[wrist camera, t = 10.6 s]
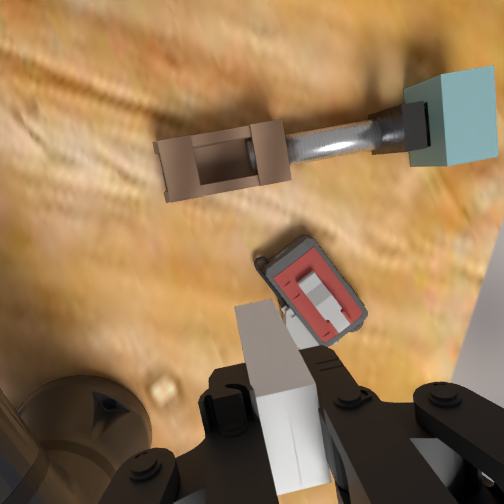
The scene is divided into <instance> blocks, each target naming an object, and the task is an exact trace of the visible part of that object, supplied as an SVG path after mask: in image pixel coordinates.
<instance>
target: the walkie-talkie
mask: <svg viewBox="0 0 504 504" xmlns="http://www.w3.org/2000/svg"><path fill="white" fill-rule="evenodd" d="M329 260H330V259H329V258H327V255H326V254H324V251H323V250H321V247H320V246H318V243H317V242H315V239H314V238H312V237H310V236H306V235H301V236H299V237H298V238H297V239H295V240H294V241H293V242H292V243H290V244H289V245H288V246H286V247H285V248H284V249H282V250H281V251H280V252H279V253H277V254H276V255H275V256H273V257H272V258H271V259H269V260H268V259H267V258H265V257H262V256H261V257H258V258H256V260H255V262H254V265H255V268H256V270H257V271H258V273H259V274H260V275H261V276H262V278H263V279H264V280H265V282H266V283H267V284H268V285H269V287H270V288H271V289H272V290H273V292H274V293H275V294H276V296H277V297H278V300H279V304H280V306H279V307H280V308H281V310H282V311H283V321H284V323H285V325H286V327H287V329H288V331H289V333H290V335H291V337H292V339H293V341H294V343H295V344H296V345H297V346H298V348H299V350H300V349H305V348H309V347H314V346H319V345H324V346H326V347H329V346H331V345H332V344H333V345H336V344H337V343H338V342H339V339H340V338H342V337H343V336H344V335H345V334H347V333H348V332H355V331H357V330H359V329H360V328H361V327H362V325H363V322H364V320H365V319H366V317H367V316H368V311H367V310H366V308H365V307H364V306H365V305H364V304H363V302H362V301H361V300H360V299H359V298H358V297H357V296H356V295H355V291H354V290H353V289H352V287H351V286H350V285H349V284H348V283H347V282H346V281H344V278H343V277H341V274H340V273H338V270H337V269H335V266H333V265H332V264H333V263H332V262H330V261H329ZM260 261H264V262H266V263H264V267H263V272H262V271H261V269H260V268H259V266H258V263H259V262H260ZM282 298H283V299H284V300H285V301H286V304H284V303H283V301H282Z"/></svg>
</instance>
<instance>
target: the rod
mask: <svg viewBox="0 0 504 504" xmlns="http://www.w3.org/2000/svg"><path fill="white" fill-rule="evenodd" d="M285 140H286V146H287V153H288V159H289V165H295V164H300V163H306V162H311V161H317V160H322V159H327V158H333V157H338V156H344V155H349V154H355V153H360V152H366V151H371V150H372V155H376V154H387V153H399V152H408V151H414V150H419V149H424V148H428V147H427V140H431V138H430V126H429V114H428V109H427V110H424V101H419V102H413V103H407V104H402V105H398V106H395V107H392V108H389V109H386V110H383V111H380V112H377V113H374V114H371V115H368V120H365V121H359V122H354V123H348V124H342V125H337V126H331V127H326V128H320V129H314V130H309V131H303V132H297V133H292V134H286V135H285ZM246 148H247V156H248V161H249V166H250V169H251V172H256V171H257V168H256V162H255V156H254V150H253V144H252V141H247V142H246Z"/></svg>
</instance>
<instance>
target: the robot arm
mask: <svg viewBox="0 0 504 504" xmlns="http://www.w3.org/2000/svg"><path fill="white" fill-rule="evenodd" d="M234 309H235V314H236V319H237V324H238V329H239V334H240V339H241V344H242V350H243V355H244V360H245V363H241V364H237V365H232V366H228V367H223V368H218V369H215V370H214V371H213V373H212V374H211V376H210V377H209V389H207V390H206V391H205V392H204V393H203V394H202V395H201V396H200V399H199V401H198V404H199V409H200V413H201V417H202V422H203V426H204V431H205V439H204V440H203V441H202V442H201V443H200V444H199V445H198V446H197V447H195V448H194V449H192V450H191V451H189V452H187V453H185V454H183V455H181V456H179V457H177V458H175V456H174V454H173V452H171V451H169V450H168V449H166V448H152V449H150V448H151V442H152V429H151V424H150V420H149V417H148V415H147V413H146V411H145V409H144V407H143V406H142V404H141V403H140V402H139V400H138V399H137V398H136V397H135V396H134V395H133V394H132V393H131V392H129V391H128V390H127V389H125V388H124V387H122V386H120V385H119V384H117V383H114V382H112V381H109V380H107V379H103V378H99V377H94V376H70V377H65V378H61V379H57V380H54V381H52V382H49V383H47V384H45V385H44V386H42V387H40V388H39V389H37V390H36V391H35V392H33V393H32V394H31V395H30V396H29V397H28V398H27V399H26V400H25V401H24V403H23V404H22V405H21V407H20V408H19V409H18V410H17V411H16V410H15V408H14V407H13V406H12V404H11V403H10V402H9V400H8V399H7V397H6V396H5V395H4V393H3V392H2V390H1V389H0V504H279V501H278V497H277V495H281V494H285V493H289V492H293V491H297V490H301V489H306V488H310V487H314V486H318V485H322V484H326V483H330V482H331V476H330V470H331V472H332V475H333V477H334V479H335V486H336V492H337V498H338V504H504V408H502V407H500V406H498V405H496V404H494V403H493V402H491V401H489V400H487V399H485V398H484V397H481V396H480V395H478V394H476V393H475V392H473V391H471V390H469V389H467V388H465V387H462V386H460V385H457V384H453V383H447V382H432V383H428V384H424V385H422V386H420V387H419V388H417V389H416V390H415V392H414V394H413V401H414V402H412V403H391V402H383V401H381V400H380V399H379V398H378V396H377V395H376V394H375V393H374V392H373V391H371V390H370V389H368V388H365V387H362V386H358V384H357V383H356V381H355V380H354V379H353V377H352V376H351V374H350V373H349V372H348V370H347V369H346V367H345V366H344V365H343V363H342V362H341V360H339V357H338V356H337V355H336V353H335V352H334V350H332V349H330V348H328V347H326V346H324V345H319V346H314V347H309V348H305V349H300V350H298V348H297V347H296V345H295V343H294V341H293V339H292V337H291V335H290V333H289V331H288V329H287V327H286V325H285V323H284V321H283V319H282V318H281V316H280V314H279V312H278V310H277V308H276V306H275V304H274V302H273V300H272V299H268V300H264V301H259V302H254V303H249V304H244V305H239V306H235V307H234ZM329 468H330V470H329ZM482 472H483V473H484V474H486V475H487V476H488V477H490V478H491V479H492V480H493V481H494V482H492V481H490V480H489V479H487V478H486V477H485V476H483V475H482Z"/></svg>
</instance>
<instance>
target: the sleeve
mask: <svg viewBox="0 0 504 504" xmlns="http://www.w3.org/2000/svg"><path fill="white" fill-rule="evenodd" d="M247 141H252V144H253V150H254V156H255V162H256V168H257V171H256V172H251V169H250V166H249V161H248V156H247V148H246V142H247ZM153 146H154V151H155V154H159V157H160V161H161V166H162V170H163V175H164V179H165V184H166V189H167V191H165V192H164V196H165V201H166V203H168V202H176V201H182V200H187V199H193V198H198V197H203V196H206V195H211V194H217V193H222V192H227V191H233V190H238V189H244V188H249V187H254V186H263V185H268V184H273V183H279V182H284V181H289V180H292V179H291V172H290V166H289V159H288V153H287V146H286V140H285V133H284V127H283V120H282V119H279V120H273V121H267V122H262V123H256V124H250V125H249V126H243V127H237V128H232V129H226V130H220V131H214V132H209V133H203V134H197V135H187V136H181V137H176V138H170V139H164V140H158V141H157V142H153Z"/></svg>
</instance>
